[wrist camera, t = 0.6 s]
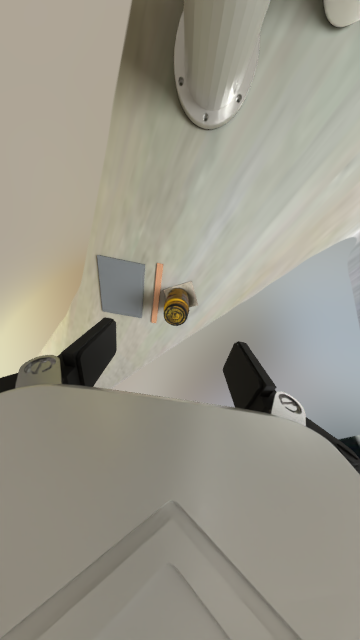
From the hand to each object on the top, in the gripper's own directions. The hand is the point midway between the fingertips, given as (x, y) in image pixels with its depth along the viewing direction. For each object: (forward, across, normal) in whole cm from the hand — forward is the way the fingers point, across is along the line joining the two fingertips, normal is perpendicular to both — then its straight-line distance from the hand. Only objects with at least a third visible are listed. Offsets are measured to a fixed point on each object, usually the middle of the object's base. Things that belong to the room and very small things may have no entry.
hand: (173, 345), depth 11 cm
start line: (+30, +6, +6) cm, 31 cm away
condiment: (+30, -1, +5) cm, 31 cm away
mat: (+30, +16, +6) cm, 34 cm away
